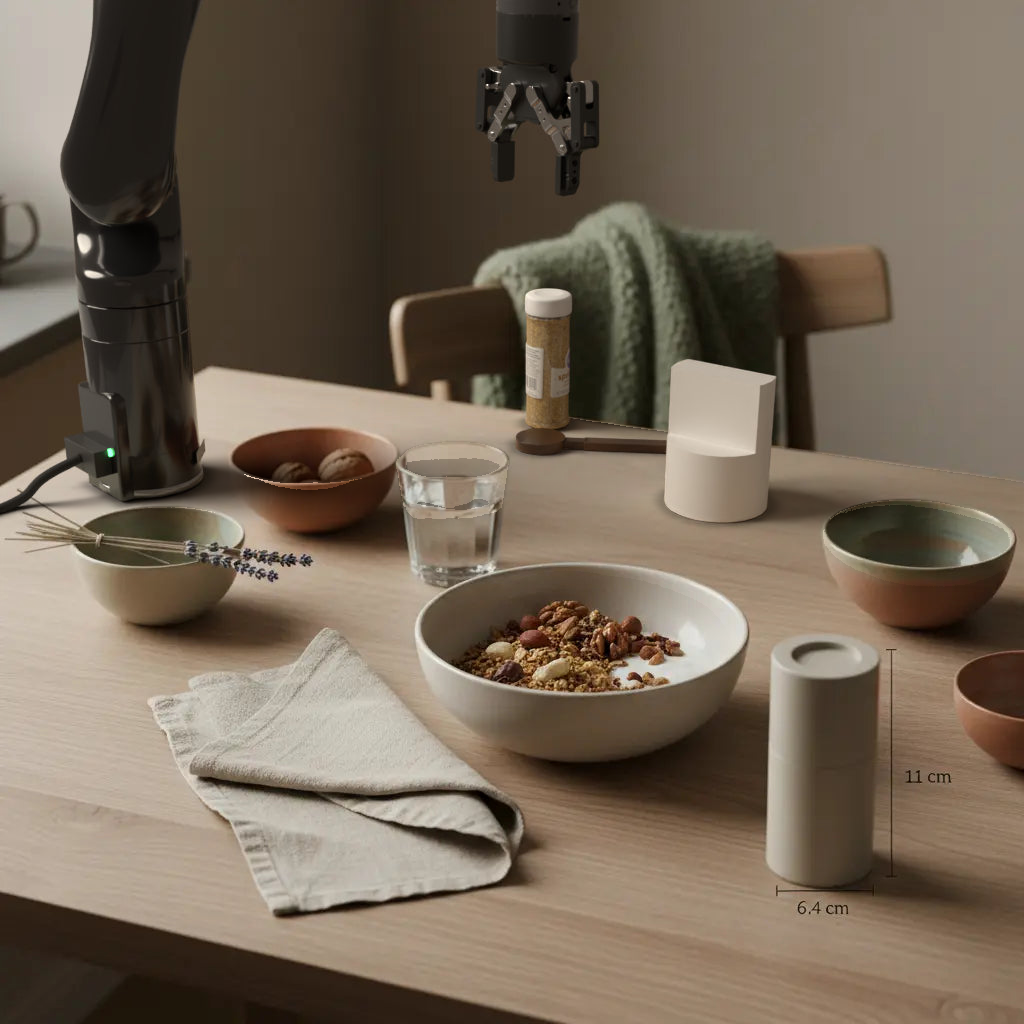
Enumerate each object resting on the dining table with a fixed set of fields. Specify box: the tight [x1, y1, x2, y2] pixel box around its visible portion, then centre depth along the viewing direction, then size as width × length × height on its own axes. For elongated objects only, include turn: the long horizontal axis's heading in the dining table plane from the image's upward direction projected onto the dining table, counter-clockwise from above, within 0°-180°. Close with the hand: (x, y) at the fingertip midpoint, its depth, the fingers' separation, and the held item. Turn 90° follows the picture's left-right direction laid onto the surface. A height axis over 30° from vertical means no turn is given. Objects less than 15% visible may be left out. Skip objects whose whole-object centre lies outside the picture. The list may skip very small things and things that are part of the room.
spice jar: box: [524, 288, 573, 430], centre depth 149 cm, size 5×5×13 cm
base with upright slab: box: [663, 358, 777, 524], centre depth 131 cm, size 9×9×12 cm
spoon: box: [515, 427, 667, 456], centre depth 145 cm, size 18×5×1 cm, turn 85°
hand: (534, 187), depth 142 cm, fingers open, 8 cm apart
